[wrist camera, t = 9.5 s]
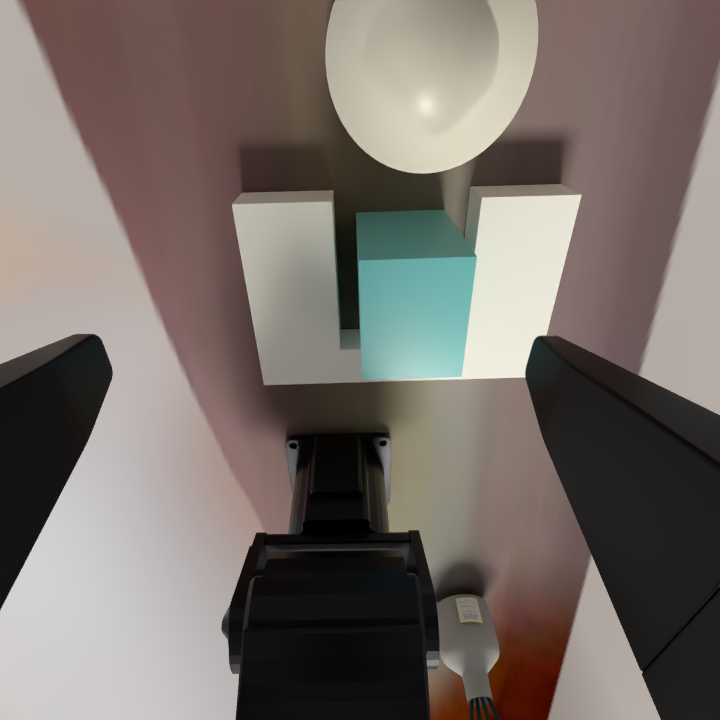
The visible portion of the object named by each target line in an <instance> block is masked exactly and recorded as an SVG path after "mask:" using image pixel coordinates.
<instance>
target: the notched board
mask: <svg viewBox="0 0 720 720" xmlns="http://www.w3.org/2000/svg"><path fill="white" fill-rule="evenodd" d="M580 199H581V194H579V193H577V192H575V191H573V190H571V189H570V188H568V187H566V186H564V185H562V184H545V185H508V186H471V187H470V193H469V202H468V211H467V220H466V229H465V237H464V239H465V240H466V241H467V243H468V244H469V246H470V247H471V249H472V250H473V252H474V253H475V254H476V256H477V261H476V269H475V276H474V284H473V292H472V300H471V308H470V316H469V323H468V331H467V339H466V347H465V355H464V363H463V370H462V377H442V378H413V379H385V380H362V370H361V347H360V329H346V330H341V326H340V306H339V287H338V268H337V249H336V230H335V210H334V191H333V190H323V191H287V192H250V193H241V194H240V195H239V197H238V198H237V199H236V200H235V201H234V202H233V203H232V209H233V215H234V220H235V226H236V232H237V237H238V243H239V248H240V254H241V260H242V265H243V271H244V276H245V282H246V287H247V293H248V299H249V304H250V310H251V315H252V321H253V327H254V332H255V338H256V343H257V349H258V355H259V360H260V366H261V371H262V377H263V382H264V385H288V384H320V383H353V382H386V381H418V380H451V379H483V378H516V377H525V370H526V365H527V362H528V358H529V355H530V351H531V348H532V344H533V341H534V340H535V338H536V337H537V336H541V335H546V334H547V330H548V326H549V322H550V318H551V314H552V311H553V307H554V303H555V299H556V295H557V291H558V287H559V283H560V279H561V275H562V271H563V267H564V263H565V259H566V255H567V251H568V247H569V243H570V239H571V235H572V231H573V227H574V223H575V219H576V215H577V211H578V207H579V203H580Z"/></svg>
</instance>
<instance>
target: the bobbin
mask: <svg viewBox="0 0 720 720" xmlns="http://www.w3.org/2000/svg"><path fill="white" fill-rule="evenodd" d="M537 46H538V17H537V8H536V3H535V0H335V2H334V5H333V8H332V11H331V15H330V19H329V24H328V28H327V37H326V46H325V63H326V73H327V81H328V85H329V90H330V94H331V98H332V101H333V103H334V106H335V109H336V112H337V114H338V116H339V118H340V120H341V122H342V124H343V125H344V127H345V128H346V130H347V132H348V133H349V135H350V136H351V137H352V138H353V140H354V141H355V142H356V143H357V144H358V146H360V147H361V148H362V149H363V150H364V151H365V152H366V153H367V154H368V155H370V156H371V157H373V158H374V159H375V160H377V161H378V162H380V163H382V164H384V165H386V166H388V167H391V168H394V169H397V170H400V171H404V172H409V173H422V174H426V173H436V172H441V171H445V170H449V169H452V168H454V167H457V166H460V165H462V164H464V163H466V162H467V161H469V160H471V159H473V158H474V157H476V156H477V155H479V154H480V153H481V152H483V151H484V150H485V149H486V148H488V147H489V146H490V145H491V144H492V143H493V142H494V141H495V140H496V139H497V138H498V137H499V136H500V135H501V134H502V132H503V131H504V130H505V129H506V127H507V126H508V125H509V123H510V122H511V120H512V119H513V117H514V116H515V114H516V112H517V111H518V109H519V107H520V105H521V103H522V101H523V99H524V96H525V94H526V92H527V90H528V87H529V84H530V81H531V78H532V75H533V70H534V65H535V61H536V55H537Z"/></svg>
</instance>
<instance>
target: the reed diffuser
mask: <svg viewBox="0 0 720 720" xmlns="http://www.w3.org/2000/svg"><path fill="white" fill-rule="evenodd" d="M437 613H438V623H439V639H440V654H441V657H442V660H443V662H444V663H445V664H446V665H447V666H448V667H449V668H450V669H452V670H453V671H455V672H456V673H458V674H459V675H461V676H462V678H463V682H464V687H465V692H466V697H467V702H468V704H469V705H470V719H469V720H473V712H474V706H475V707H476V710H477V718H478V720H481V713H480V706H483V709H484V713H485V716H486V720H490V717H489V713H488V710H487V707H486V705H490V707H491V709H492V711H493V713H494V715H495V718H496V720H501V719H500V717H499V715H498V713H497V711H496V709H495V707H494V705H493V703H492V702H493V699H492V694H491V690H490V685H489V680H488V675H487V673H488V672H489V671H490V669H491V668H492V667H493V665H494V664H495V663H496V661H497V659H498V657H499V645H498V640H497V636H496V633H495V629H494V626H493V623H492V619H491V616H490V613H489V609H488V606H487V603H486V602H485V600H484V599H482V598H481V597H479V596H476V595H471V594H459V595H453V596H450V597H447V598H445V599H443V600H441V601H440V602H439V603H438V604H437Z"/></svg>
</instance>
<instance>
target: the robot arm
mask: <svg viewBox="0 0 720 720" xmlns="http://www.w3.org/2000/svg"><path fill="white" fill-rule="evenodd" d="M112 374H113V373H112V367H111V364H110V361H109V358H108V356H107V353H106V350H105V348H104V345H103V342H102V340H101V339H100V337H98V336H97V335H95V334H75V335H72V336H69V337H67V338H64V339H62V340H59V341H57V342H55V343H52V344H49V345H47V346H44V347H42V348H39V349H37V350H34V351H32V352H30V353H27V354H25V355H22V356H20V357H17V358H15V359H12V360H10V361H8V362H5V363H2V364H0V609H1V608H2V606H3V604H4V601H5V600H6V598H7V596H8V594H9V592H10V590H11V588H12V586H13V584H14V582H15V580H16V578H17V577H18V575H19V573H20V571H21V569H22V567H23V565H24V563H25V561H26V559H27V557H28V556H29V554H30V552H31V550H32V548H33V546H34V544H35V542H36V540H37V538H38V536H39V534H40V533H41V531H42V529H43V527H44V525H45V523H46V521H47V519H48V517H49V515H50V513H51V511H52V509H53V507H54V506H55V504H56V502H57V500H58V498H59V496H60V494H61V492H62V490H63V488H64V486H65V484H66V482H67V481H68V479H69V477H70V475H71V473H72V471H73V469H74V467H75V465H76V463H77V461H78V459H79V458H80V455H81V454H82V452H83V450H84V448H85V446H86V444H87V442H88V439H89V437H90V435H91V432H92V430H93V427H94V425H95V422H96V419H97V417H98V414H99V411H100V409H101V406H102V404H103V401H104V398H105V396H106V393H107V390H108V388H109V385H110V382H111V380H112ZM525 377H526V381H527V385H528V389H529V392H530V396H531V399H532V403H533V406H534V410H535V413H536V417H537V420H538V424H539V427H540V431H541V434H542V437H543V440H544V442H545V445H546V447H547V450H548V452H549V454H550V457H551V459H552V461H553V464H554V466H555V469H556V471H557V473H558V476H559V478H560V480H561V483H562V485H563V488H564V490H565V492H566V495H567V497H568V499H569V502H570V504H571V507H572V509H573V511H574V514H575V516H576V518H577V521H578V523H579V526H580V528H581V530H582V533H583V535H584V537H585V540H586V542H587V545H588V547H589V549H590V552H591V554H592V556H593V559H594V561H595V563H596V566H597V568H598V571H599V573H600V575H601V578H602V580H603V582H604V585H605V587H606V589H607V592H608V594H609V597H610V599H611V601H612V604H613V606H614V609H615V611H616V613H617V616H618V618H619V620H620V623H621V625H622V628H623V629H624V632H625V634H626V637H627V639H628V642H629V644H630V647H631V649H632V651H633V653H634V656H635V658H636V661H637V663H638V665H639V668H640V670H641V671H643V673H642V676H643V678H644V681H645V683H646V685H647V688H648V690H649V692H650V695H651V697H652V700H653V702H654V704H655V706H656V709H657V711H658V714H659V716H660V718H661V720H720V415H718V414H716V413H714V412H712V411H710V410H708V409H706V408H704V407H702V406H700V405H698V404H696V403H693V402H691V401H689V400H687V399H685V398H683V397H681V396H679V395H677V394H675V393H673V392H671V391H669V390H667V389H665V388H663V387H661V386H659V385H657V384H655V383H653V382H651V381H648V380H647V379H644V378H643V377H641V376H638V375H636V374H634V373H632V372H630V371H628V370H626V369H624V368H622V367H620V366H618V365H616V364H614V363H612V362H610V361H608V360H606V359H604V358H602V357H600V356H598V355H596V354H594V353H592V352H589V351H587V350H585V349H583V348H581V347H579V346H577V345H575V344H573V343H571V342H569V341H567V340H565V339H563V338H561V337H559V336H555V335H541V336H537V337H536V338H535V340H534V341H533V344H532V348H531V351H530V355H529V358H528V362H527V365H526V370H525ZM382 440H385V441H384V442H381V441H382ZM291 443H295V445H294V444H291ZM285 448H286V455H287V461H288V467H289V473H290V480H291V486H292V492H293V500H292V508H291V515H290V523H289V531H288V534H267V533H256V535H255V539H254V541H253V544H252V546H250V547H249V550H248V553H247V556H246V559H245V562H244V565H243V568H242V571H241V574H240V577H239V580H238V583H237V586H236V589H235V592H234V595H233V598H232V601H231V604H230V606H229V608H228V610H227V612H226V614H225V615H224V618H223V621H222V632H223V634H224V635H225V637H226V638H227V639H228V645H229V663H230V669H231V671H232V673H233V674H239V685H238V698H237V711H236V720H430V705H429V689H428V673H427V669H437V668H438V664H439V654H440V639H439V623H438V613H437V605H436V599H435V593H434V588H433V584H432V580H431V576H430V572H429V569H428V565H427V561H426V557H425V553H424V549H423V545H422V541H421V537H420V533H419V530H409V531H408V532H390V533H389V523H388V512H387V505H388V504H389V501H390V464H391V438H390V436H389V435H388V434H386V433H359V434H327V435H296V436H289V437H288V438H287V439H286V444H285Z"/></svg>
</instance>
